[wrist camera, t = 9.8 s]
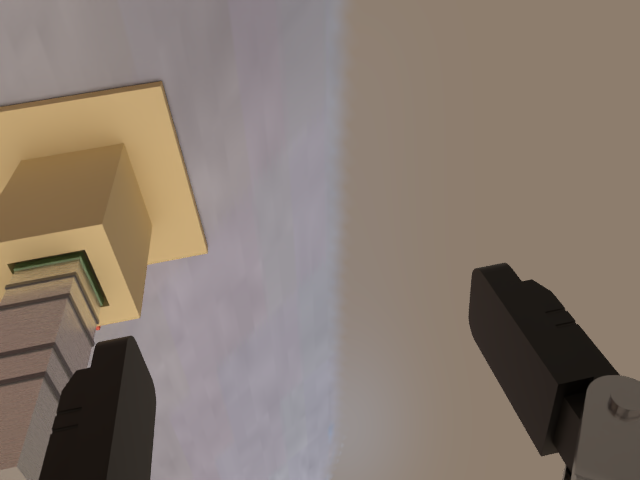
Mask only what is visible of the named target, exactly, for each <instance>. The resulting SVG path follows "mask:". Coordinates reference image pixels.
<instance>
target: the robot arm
mask: <svg viewBox="0 0 640 480" xmlns="http://www.w3.org/2000/svg"><path fill="white" fill-rule="evenodd" d="M469 324H470V329H471V332H472V335H473V338H474V340H475V342H476V343H477V345H478V347H479V349H480V350H481V352H482V354H483V356H484V357H485V359H486V361H487V363H488V364H489V366H490V368H491V370H492V371H493V373H494V375H495V377H496V378H497V380H498V382H499V384H500V385H501V387H502V389H503V391H504V392H505V394H506V396H507V398H508V399H509V401H510V403H511V405H512V406H513V408H514V410H515V412H516V413H517V415H518V417H519V419H520V420H521V422H522V424H523V425H524V427H525V429H526V431H527V433H528V434H529V436H530V438H531V440H532V441H533V443H534V445H535V447H536V448H537V450H538V452H539V454H540V455H541V456H545V455H549V454H554V453H558V452H559V454H560V456H561V457H562V459H563V461H564V462H565V464H566V465H565V469H564V472H563V479H562V480H640V381H638V380H635V379H633V378H629V377H626V376H620V375H619V374H618V372H617V371H616V370H615V369H614V368H613V367H612V365H611V364H610V363H609V361H608V360H607V359H606V358H605V357H604V355H603V354H602V353H601V352H600V350H599V349H598V348H597V347H596V346H595V345H594V343H593V342H592V341H591V339H590V338H589V337H588V336H587V335H586V333H585V332H584V331H583V330H582V328H581V327H580V326H579V325H578V324H576V323H575V320H574V319H573V317H572V316H571V315H570V314H569V313H568V311H565V308H564V307H563V305H562V304H561V303H560V302H559V300H558V299H557V298H556V296H555V295H554V294H553V293H552V292H551V291H550V290H548V289H546V288H545V287H543V286H542V285H540V284H538V283H537V282H535V281H534V280H527V281H521V280H520V279H519V277H518V276H517V275H516V273H515V272H514V271H513V269H512V268H511V267H510V266H509V265H508V264H507V263H502V264H496V265H491V266H486V267H481V268H476V269H474V270H473V272H472V280H471V292H470V303H469ZM56 413H57V416H55V419H54V423H53V426H52V434H50V438H49V442H48V446H47V449H46V453H45V457H44V461H43V465H42V469H41V472H40V476H39V480H150V475H151V462H152V450H153V438H154V425H155V413H156V395H155V388H154V384H153V380H152V378H151V375H150V373H149V371H148V368H147V366H146V364H145V361H144V359H143V357H142V354H141V352H140V350H139V347H138V345H137V342H136V340H135V339H134V337H133V336H127V337H122V338H117V339H112V340H107V341H102V342H98V343H97V344H96V346H95V349H94V354H93V358H92V363H91V367H90V368H85V369H81V370H76V371H75V373H74V374H73V376H72V377H71V379H70V380H69V381H68V383H67V384H66V386H65V387H64V388H63V390H62V392H61V396H60V400H59V404H58V407H57V411H56Z"/></svg>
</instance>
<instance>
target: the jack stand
mask: <svg viewBox="0 0 640 480" xmlns="http://www.w3.org/2000/svg"><path fill="white" fill-rule="evenodd" d="M80 250H85V251H86V253H87V256H88V258H89V260H90V262H91V265H92V267H93V269H94V271H95V274H96V276H97V278H98V280H99V283H100V285H101V287H102V289H103V292H104V295H103V298H104V303H103V305H102V306H101V308H100V313H99V317H98V319H99V324H97V326H96V330H100V326H102V325H107V324H112V323H117V322H122V321H127V320H132V319H137V318H140V316H141V308H142V301H143V293H144V285H145V278H146V270H147V265H148V264H153V263H159V262H164V261H169V260H175V259H180V258H185V257H191V256H196V255H201V254H206V253H208V246H207V242H206V238H205V235H204V231H203V228H202V224H201V220H200V217H199V213H198V210H197V206H196V202H195V199H194V195H193V192H192V188H191V184H190V181H189V177H188V174H187V170H186V166H185V163H184V159H183V156H182V152H181V148H180V145H179V141H178V138H177V134H176V130H175V127H174V123H173V120H172V116H171V112H170V109H169V105H168V102H167V98H166V94H165V91H164V87H163V84H162V81H159V82H153V83H147V84H140V85H134V86H128V87H122V88H115V89H109V90H103V91H97V92H90V93H84V94H78V95H72V96H66V97H59V98H53V99H47V100H41V101H34V102H28V103H22V104H16V105H9V106H3V107H0V302H1V300H2V298H3V296H4V293H5V291H6V290H5V286H6V285H8V284H9V282H10V280H11V278H12V276H13V274H14V270H13V269H14V267H15V264H17V263H19V262H21V261H26V260H32V259H37V258H42V257H48V256H53V255H59V254H64V253H69V252H75V251H80Z"/></svg>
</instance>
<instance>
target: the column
mask: <svg viewBox="0 0 640 480" xmlns="http://www.w3.org/2000/svg"><path fill="white" fill-rule="evenodd" d="M13 270H14V274H13V276H12V278H11V280H10V282H9V284H8V285H6V286H5V290H6V291H5V293H4V296H3V298H2V300H1V302H0V480H39V476H40V472H41V469H42V465H43V461H44V457H45V453H46V449H47V446H48V442H49V438H50V434H52V426H53V423H54V419H55V416H57V413H56V411H57V407H58V404H59V400H60V396H61V392H62V390H63V388H64V387H65V386H66V384H67V383H68V381H69V380H70V379H71V377H72V376H73V374H74V373H75V371H76V370H81V369H85V368H87V366H88V362H89V357H90V353H91V349H92V347H93V346H94V344H95V342H94V335H95V331H96V326H97V324H99V319H98V317H99V313H100V308H101V306H102V305H103V303H104V298H103V295H104V292H103V289H102V287H101V285H100V283H99V280H98V278H97V276H96V274H95V271H94V269H93V267H92V265H91V262H90V260H89V258H88V256H87V253H86V251H85V250H80V251H75V252H69V253H64V254H59V255H53V256H48V257H42V258H37V259H32V260H26V261H21V262H19V263H17V264H15V267H14V269H13Z"/></svg>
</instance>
